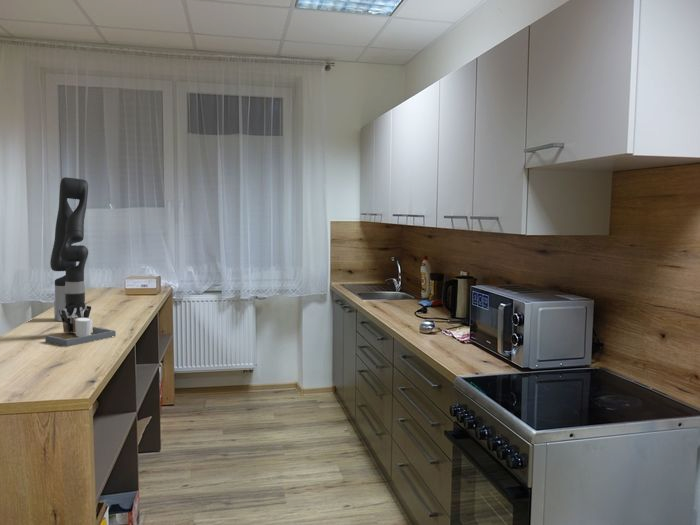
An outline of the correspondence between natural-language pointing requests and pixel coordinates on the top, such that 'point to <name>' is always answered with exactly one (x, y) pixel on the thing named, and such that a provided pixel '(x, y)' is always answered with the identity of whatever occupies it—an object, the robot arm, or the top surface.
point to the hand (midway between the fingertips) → (75, 330)
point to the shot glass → (83, 326)
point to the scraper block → (67, 327)
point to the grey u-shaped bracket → (74, 341)
